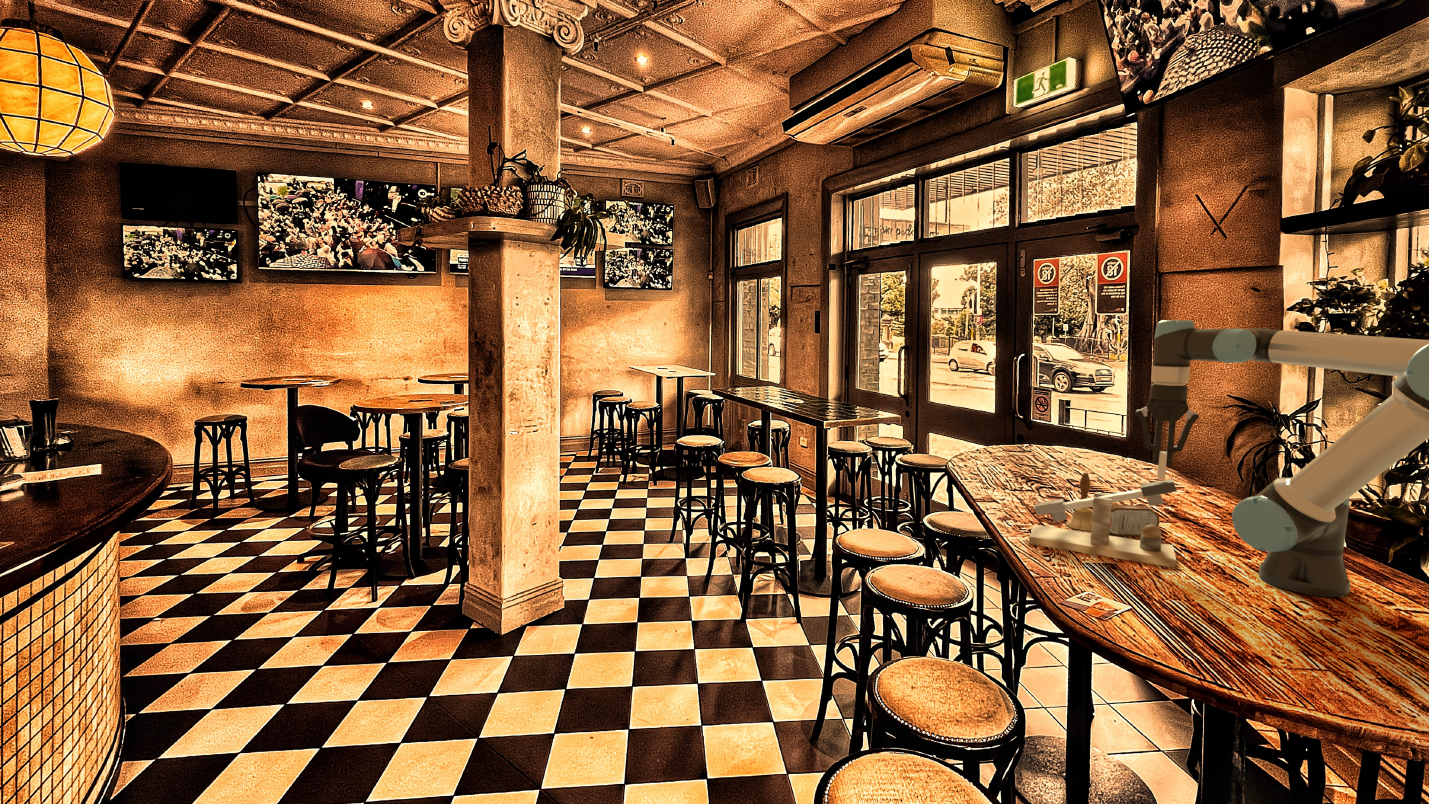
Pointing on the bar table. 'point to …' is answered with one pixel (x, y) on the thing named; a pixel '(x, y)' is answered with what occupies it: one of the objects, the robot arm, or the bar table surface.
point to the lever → (1147, 490)
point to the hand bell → (1082, 509)
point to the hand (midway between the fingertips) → (1160, 477)
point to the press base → (1102, 550)
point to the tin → (1131, 519)
